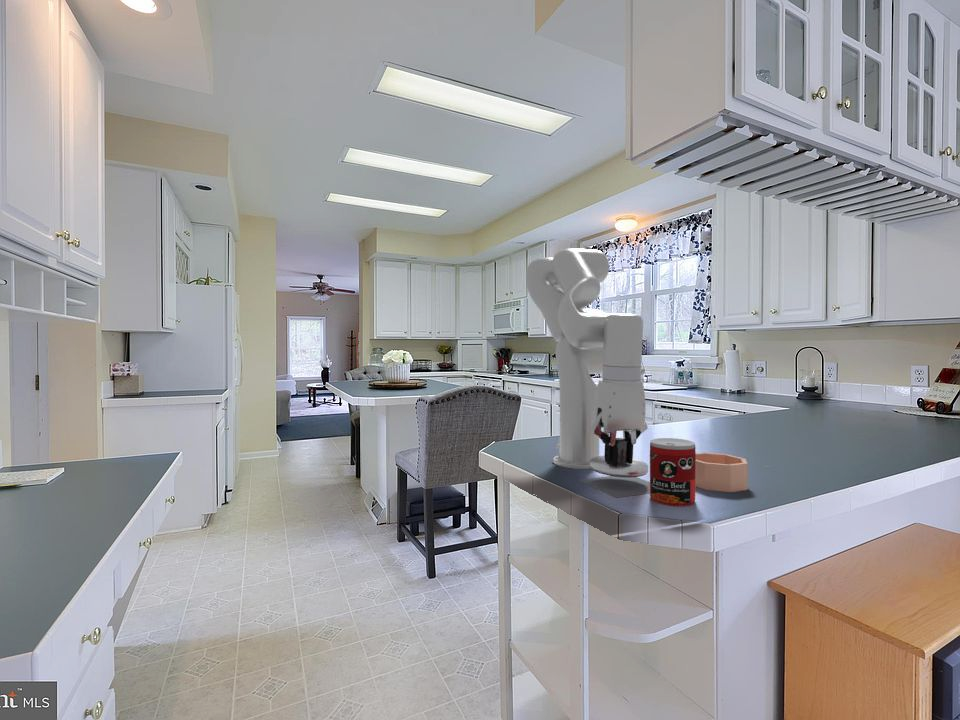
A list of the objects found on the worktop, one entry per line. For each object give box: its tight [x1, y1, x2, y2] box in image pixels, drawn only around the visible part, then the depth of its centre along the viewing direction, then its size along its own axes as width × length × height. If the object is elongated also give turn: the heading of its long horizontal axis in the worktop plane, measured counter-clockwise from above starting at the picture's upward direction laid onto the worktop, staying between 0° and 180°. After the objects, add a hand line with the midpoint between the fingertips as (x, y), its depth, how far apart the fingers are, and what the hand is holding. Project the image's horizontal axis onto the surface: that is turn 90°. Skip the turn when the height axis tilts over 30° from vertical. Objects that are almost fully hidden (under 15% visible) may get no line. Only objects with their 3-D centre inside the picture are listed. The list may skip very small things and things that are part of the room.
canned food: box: [649, 437, 697, 507], centre depth 85 cm, size 8×8×11 cm
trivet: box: [577, 475, 650, 499], centre depth 94 cm, size 13×13×1 cm
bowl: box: [695, 452, 749, 493], centre depth 95 cm, size 11×11×6 cm
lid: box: [590, 437, 649, 478], centre depth 96 cm, size 12×12×6 cm
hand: (618, 461), depth 96 cm, fingers closed on lid, 3 cm apart
